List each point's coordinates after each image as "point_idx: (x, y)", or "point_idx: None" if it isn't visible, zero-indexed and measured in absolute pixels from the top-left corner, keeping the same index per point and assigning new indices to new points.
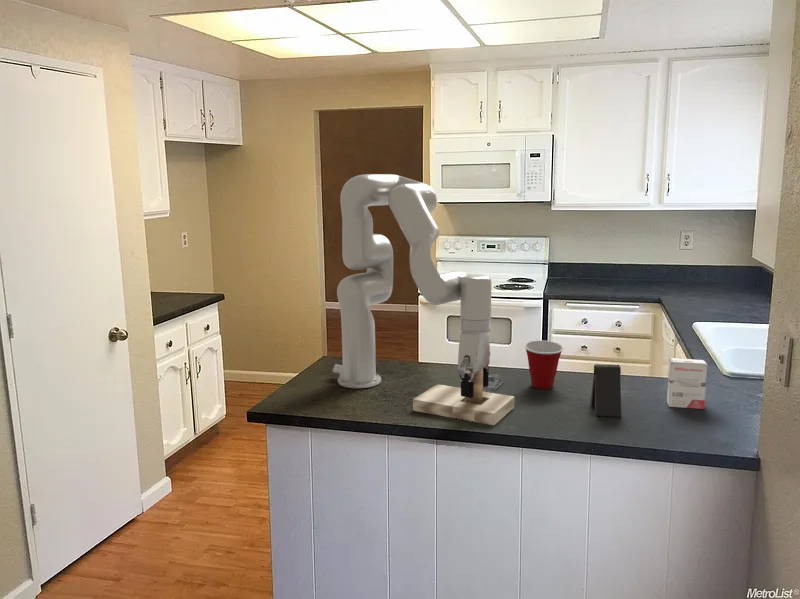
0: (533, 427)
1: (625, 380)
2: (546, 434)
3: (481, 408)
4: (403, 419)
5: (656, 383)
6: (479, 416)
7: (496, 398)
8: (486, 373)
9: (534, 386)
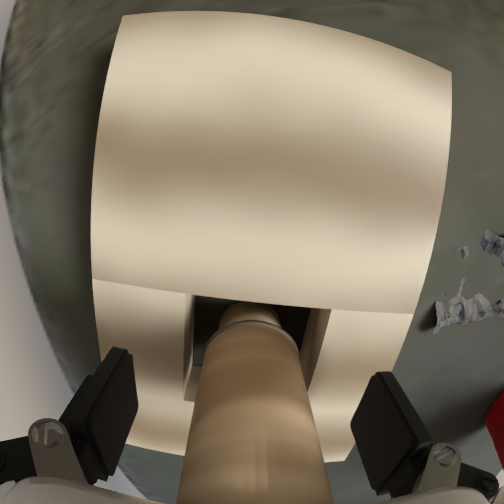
0: None
1: (491, 470)
2: (156, 490)
3: (140, 406)
4: (41, 69)
5: None
6: None
7: None
8: (374, 486)
9: (500, 397)
